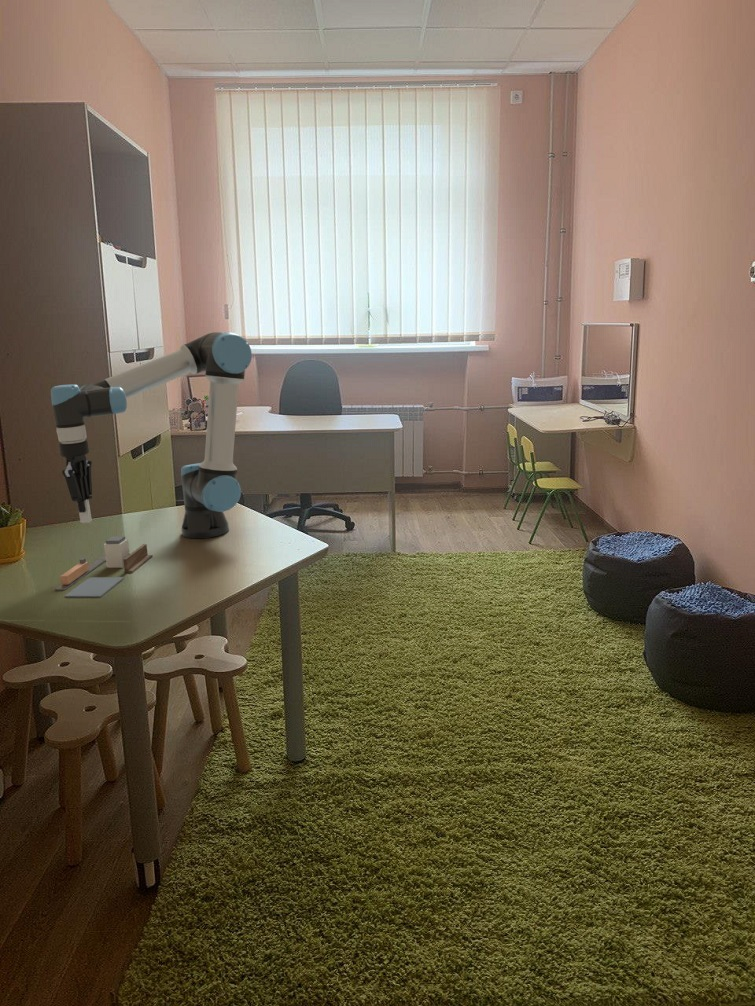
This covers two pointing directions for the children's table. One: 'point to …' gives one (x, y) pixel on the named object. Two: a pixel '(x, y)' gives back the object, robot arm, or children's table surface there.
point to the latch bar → (74, 572)
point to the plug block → (116, 551)
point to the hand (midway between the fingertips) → (86, 522)
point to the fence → (136, 559)
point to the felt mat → (94, 587)
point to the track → (91, 568)
